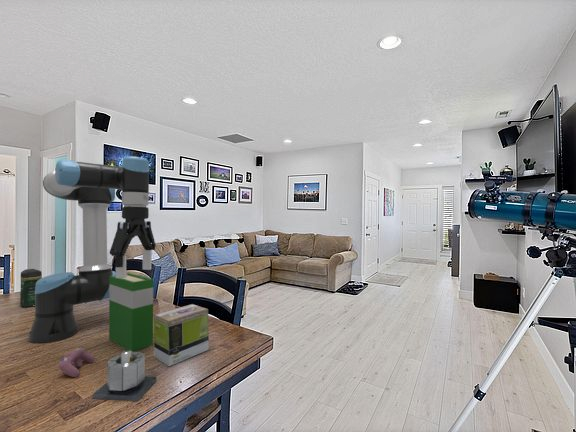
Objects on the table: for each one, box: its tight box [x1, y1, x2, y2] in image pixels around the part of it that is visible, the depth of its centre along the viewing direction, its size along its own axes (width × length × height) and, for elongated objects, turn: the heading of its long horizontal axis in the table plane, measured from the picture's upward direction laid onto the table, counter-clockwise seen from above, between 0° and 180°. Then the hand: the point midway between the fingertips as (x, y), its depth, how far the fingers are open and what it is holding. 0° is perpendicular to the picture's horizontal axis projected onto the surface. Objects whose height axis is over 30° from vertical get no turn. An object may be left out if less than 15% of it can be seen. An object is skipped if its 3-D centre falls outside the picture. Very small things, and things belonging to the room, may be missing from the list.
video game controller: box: [58, 347, 96, 378], centre depth 89 cm, size 10×5×7 cm, turn 7°
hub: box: [106, 351, 146, 391], centre depth 79 cm, size 8×8×6 cm
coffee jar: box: [19, 268, 43, 308], centre depth 150 cm, size 10×8×19 cm
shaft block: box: [92, 349, 157, 402], centre depth 79 cm, size 12×9×10 cm
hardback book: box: [108, 272, 154, 352], centre depth 108 cm, size 18×7×24 cm, turn 54°
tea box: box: [153, 303, 210, 367], centre depth 100 cm, size 15×10×15 cm, turn 141°
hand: (134, 273), depth 93 cm, fingers open, 13 cm apart
